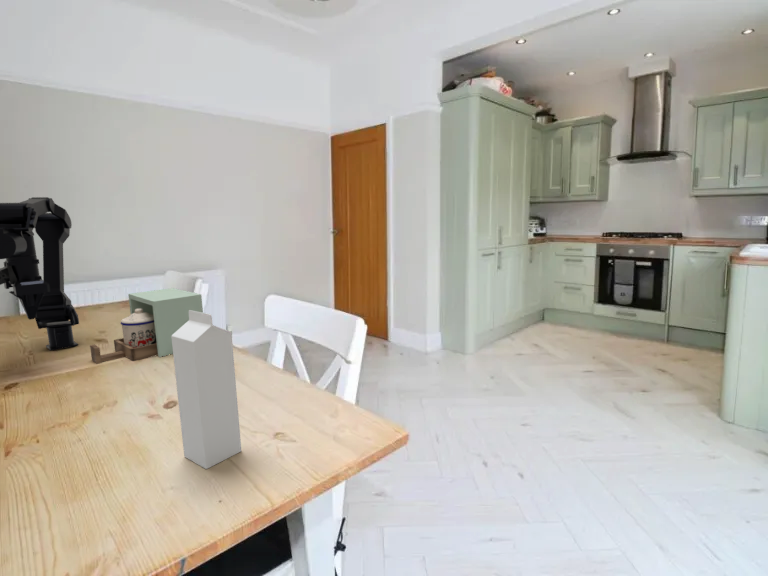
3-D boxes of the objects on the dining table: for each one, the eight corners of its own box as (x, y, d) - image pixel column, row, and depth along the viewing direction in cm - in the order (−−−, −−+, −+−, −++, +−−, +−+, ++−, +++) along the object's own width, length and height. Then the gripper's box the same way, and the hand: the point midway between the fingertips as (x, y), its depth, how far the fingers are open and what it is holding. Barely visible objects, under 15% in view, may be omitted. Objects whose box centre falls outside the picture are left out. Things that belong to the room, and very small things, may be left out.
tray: (86, 356, 116) (84, 341, 115) (176, 337, 132) (175, 324, 132) (102, 368, 106) (100, 352, 105) (197, 345, 123) (195, 332, 122)
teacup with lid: (126, 358, 114) (121, 314, 112) (122, 350, 121) (117, 308, 119) (176, 348, 121) (172, 307, 119) (169, 341, 128) (165, 302, 126)
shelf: (134, 344, 126) (128, 293, 124) (177, 334, 135) (172, 288, 133) (159, 357, 113) (153, 301, 111) (206, 346, 122) (201, 294, 120)
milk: (219, 440, 70) (207, 306, 67) (242, 451, 66) (231, 310, 63) (183, 457, 65) (168, 313, 62) (205, 470, 62) (191, 318, 58)
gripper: (-29, 256, 105) (-18, 320, 107) (-20, 260, 92) (-7, 332, 95) (30, 253, 113) (39, 312, 115) (45, 256, 100) (55, 322, 103)
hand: (31, 319), depth 107 cm, fingers closed
